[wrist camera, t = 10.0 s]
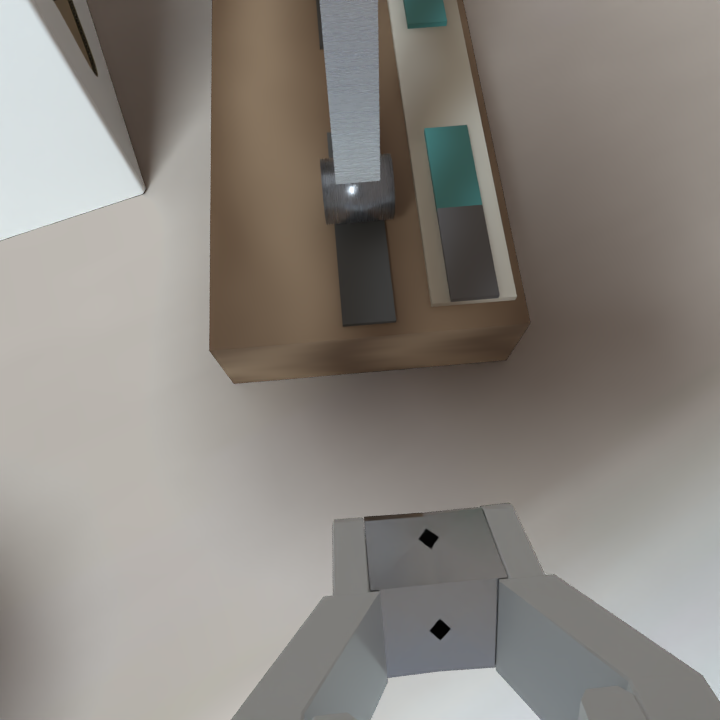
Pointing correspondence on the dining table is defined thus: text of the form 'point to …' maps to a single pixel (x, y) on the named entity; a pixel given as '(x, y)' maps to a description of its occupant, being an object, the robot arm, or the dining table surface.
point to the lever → (354, 116)
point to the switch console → (358, 239)
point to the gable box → (58, 118)
